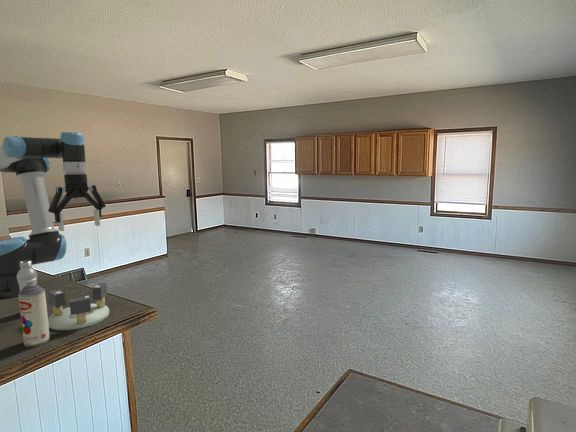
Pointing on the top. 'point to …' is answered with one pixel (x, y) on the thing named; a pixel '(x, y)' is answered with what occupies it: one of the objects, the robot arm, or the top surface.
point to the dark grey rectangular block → (57, 301)
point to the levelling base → (70, 321)
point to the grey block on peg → (100, 294)
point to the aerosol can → (34, 315)
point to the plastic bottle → (26, 274)
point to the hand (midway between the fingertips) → (80, 228)
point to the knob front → (80, 308)
